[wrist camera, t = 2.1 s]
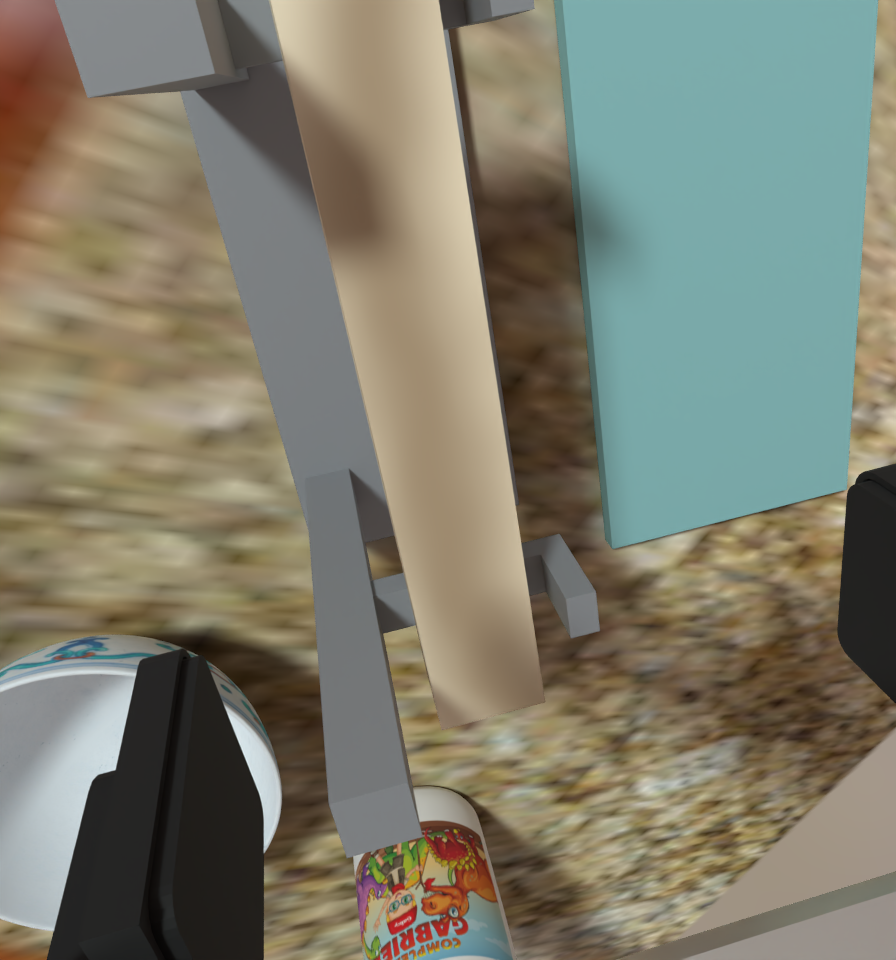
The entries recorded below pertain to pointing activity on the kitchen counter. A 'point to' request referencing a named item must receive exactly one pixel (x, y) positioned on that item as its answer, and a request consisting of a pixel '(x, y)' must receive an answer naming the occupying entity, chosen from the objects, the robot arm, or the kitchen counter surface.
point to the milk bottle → (433, 890)
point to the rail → (417, 332)
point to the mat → (717, 247)
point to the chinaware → (82, 758)
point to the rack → (306, 358)
